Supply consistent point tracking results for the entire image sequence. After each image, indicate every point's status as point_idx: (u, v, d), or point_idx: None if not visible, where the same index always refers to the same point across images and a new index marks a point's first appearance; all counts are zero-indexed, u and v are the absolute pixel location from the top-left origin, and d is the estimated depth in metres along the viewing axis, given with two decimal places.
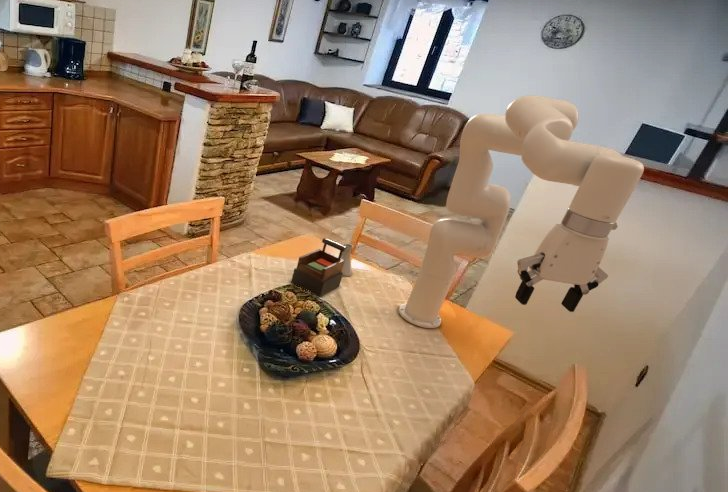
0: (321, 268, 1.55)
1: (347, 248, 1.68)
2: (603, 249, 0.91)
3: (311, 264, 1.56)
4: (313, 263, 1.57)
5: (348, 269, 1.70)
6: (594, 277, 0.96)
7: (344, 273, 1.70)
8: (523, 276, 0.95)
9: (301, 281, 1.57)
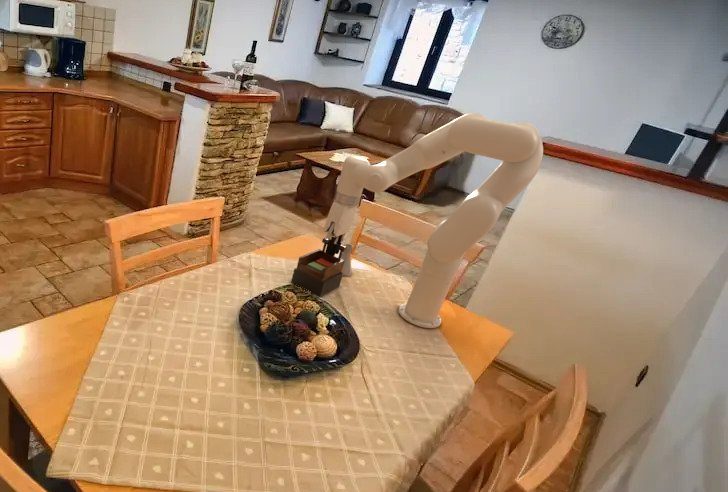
0: (321, 268, 1.55)
1: (347, 248, 1.68)
2: (355, 209, 1.55)
3: (311, 264, 1.56)
4: (313, 263, 1.57)
5: (348, 269, 1.70)
6: None
7: (344, 273, 1.70)
8: (332, 240, 1.55)
9: (301, 281, 1.57)
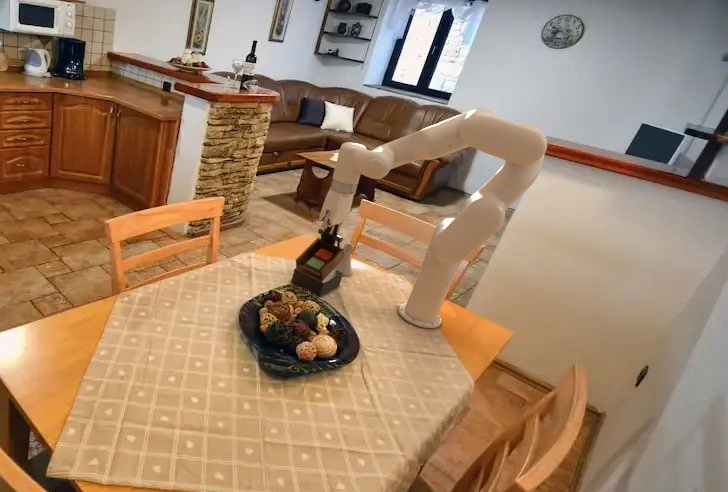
0: (320, 266, 1.53)
1: (347, 248, 1.68)
2: (352, 198, 1.50)
3: (309, 262, 1.55)
4: (312, 260, 1.55)
5: (348, 269, 1.70)
6: None
7: (344, 273, 1.70)
8: (328, 230, 1.50)
9: (301, 281, 1.57)
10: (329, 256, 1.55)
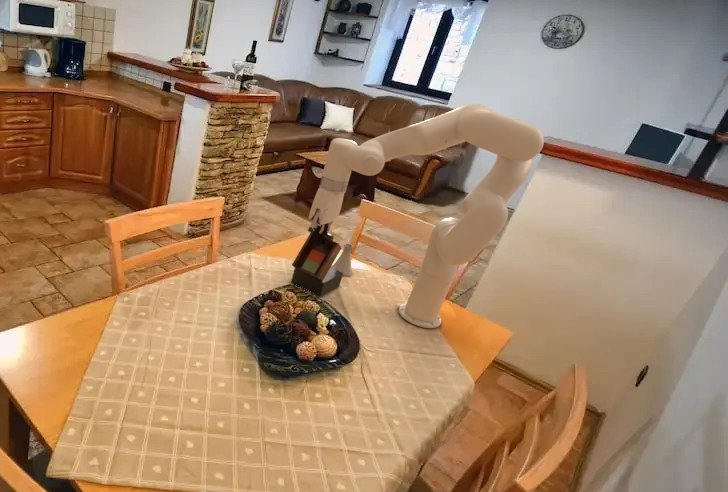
0: (315, 269, 1.51)
1: (347, 248, 1.68)
2: (343, 196, 1.44)
3: (305, 266, 1.53)
4: (307, 262, 1.53)
5: (348, 269, 1.70)
6: None
7: (344, 273, 1.70)
8: (318, 229, 1.44)
9: (301, 281, 1.57)
10: (321, 259, 1.52)
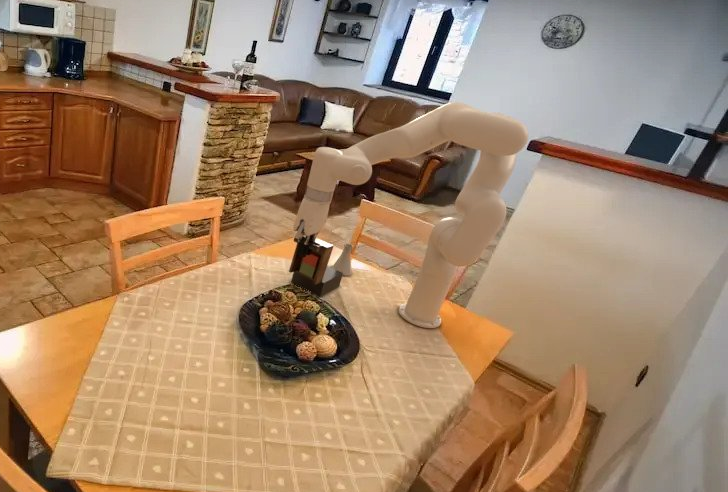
0: (311, 273, 1.51)
1: (347, 248, 1.68)
2: None
3: (302, 270, 1.53)
4: (303, 266, 1.52)
5: (348, 269, 1.70)
6: None
7: (344, 273, 1.70)
8: (303, 240, 1.40)
9: (301, 281, 1.57)
10: (315, 262, 1.49)
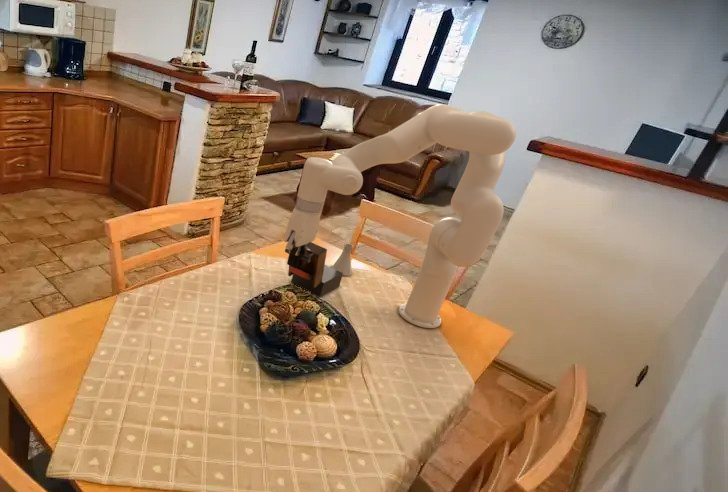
0: None
1: (347, 248, 1.68)
2: None
3: None
4: None
5: (348, 269, 1.70)
6: None
7: (344, 273, 1.70)
8: (294, 251, 1.39)
9: (301, 281, 1.57)
10: (303, 277, 1.47)
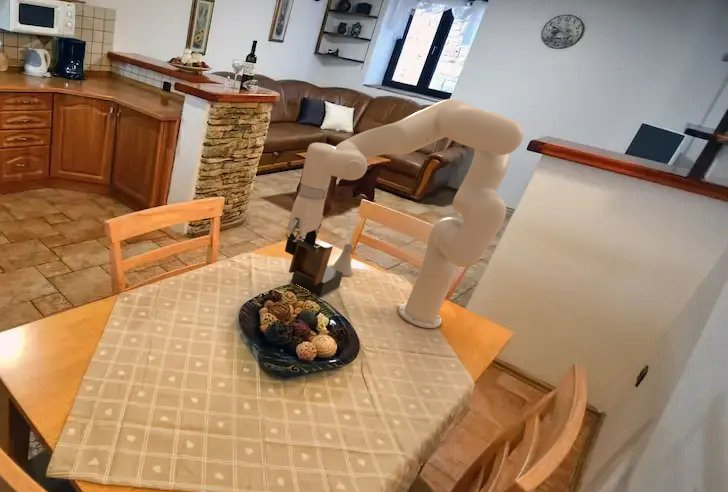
0: None
1: (347, 248, 1.68)
2: None
3: None
4: None
5: (348, 269, 1.70)
6: None
7: (344, 273, 1.70)
8: (291, 237, 1.33)
9: (301, 281, 1.57)
10: None
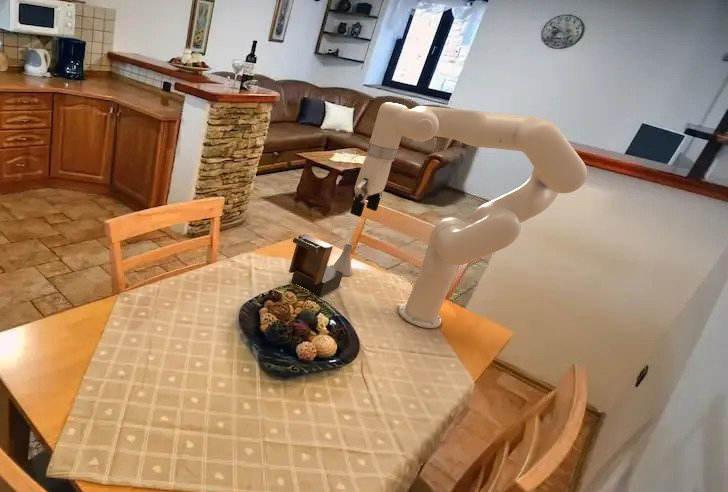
0: None
1: (347, 248, 1.68)
2: (390, 165, 1.37)
3: None
4: None
5: (348, 269, 1.70)
6: None
7: (344, 273, 1.70)
8: (360, 197, 1.34)
9: (301, 281, 1.57)
10: None
